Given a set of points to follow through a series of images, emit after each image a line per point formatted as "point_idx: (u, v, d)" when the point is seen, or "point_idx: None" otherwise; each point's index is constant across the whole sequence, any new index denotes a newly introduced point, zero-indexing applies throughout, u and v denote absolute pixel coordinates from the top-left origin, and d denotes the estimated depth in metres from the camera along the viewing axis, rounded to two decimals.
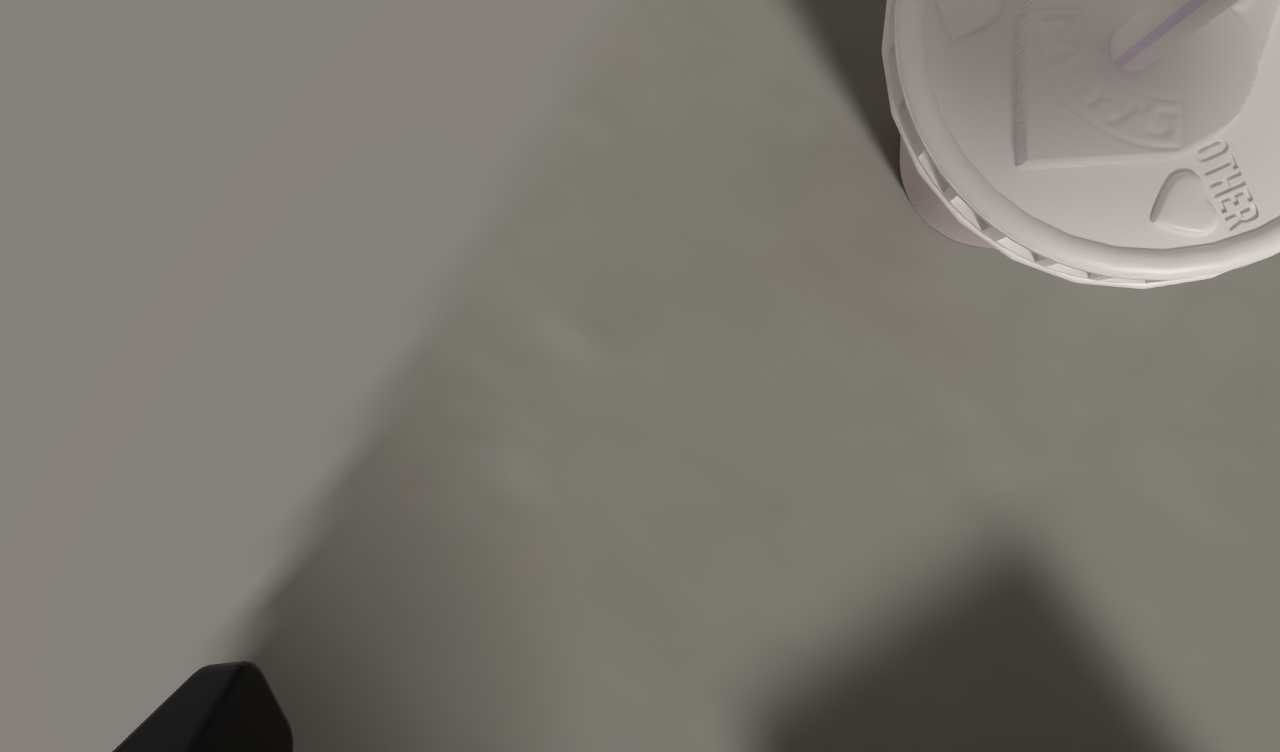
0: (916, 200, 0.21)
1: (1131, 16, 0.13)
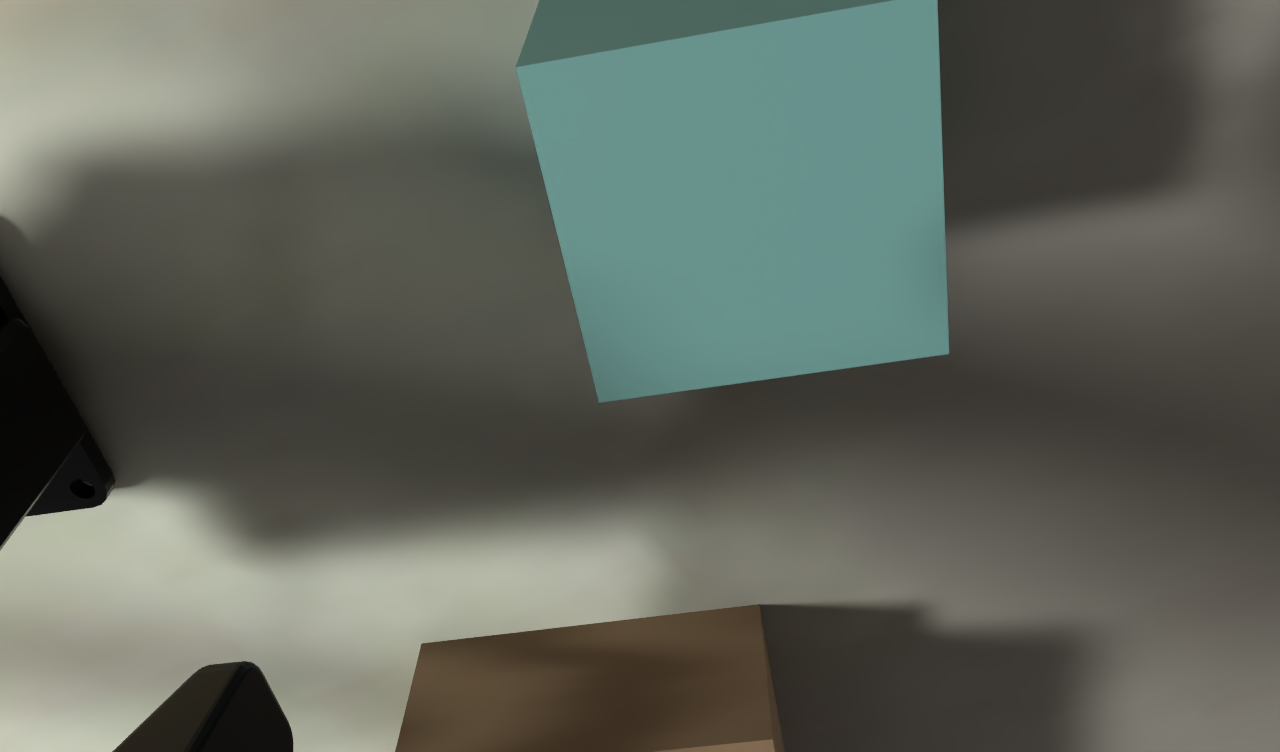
0: None
1: None
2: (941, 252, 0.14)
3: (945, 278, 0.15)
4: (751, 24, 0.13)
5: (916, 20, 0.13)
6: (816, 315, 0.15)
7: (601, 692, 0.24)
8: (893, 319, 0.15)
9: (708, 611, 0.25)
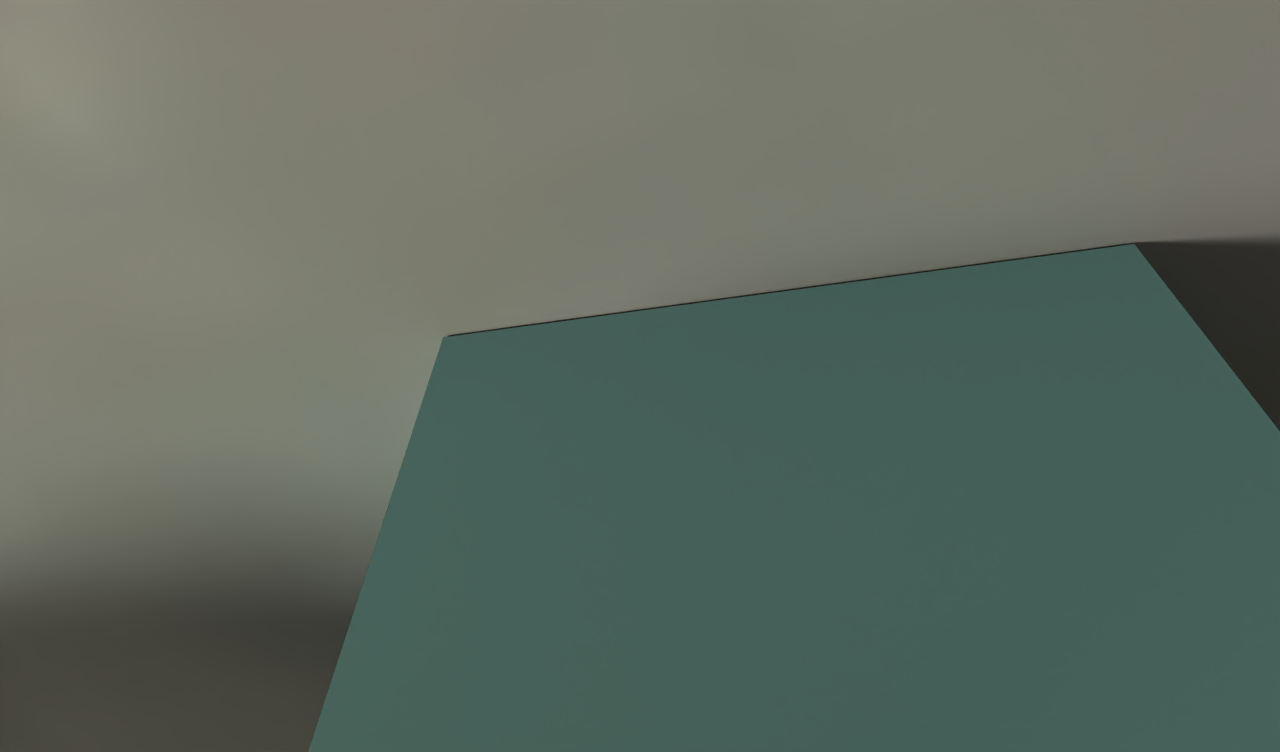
0: None
1: None
2: None
3: None
4: None
5: None
6: None
7: None
8: None
9: None
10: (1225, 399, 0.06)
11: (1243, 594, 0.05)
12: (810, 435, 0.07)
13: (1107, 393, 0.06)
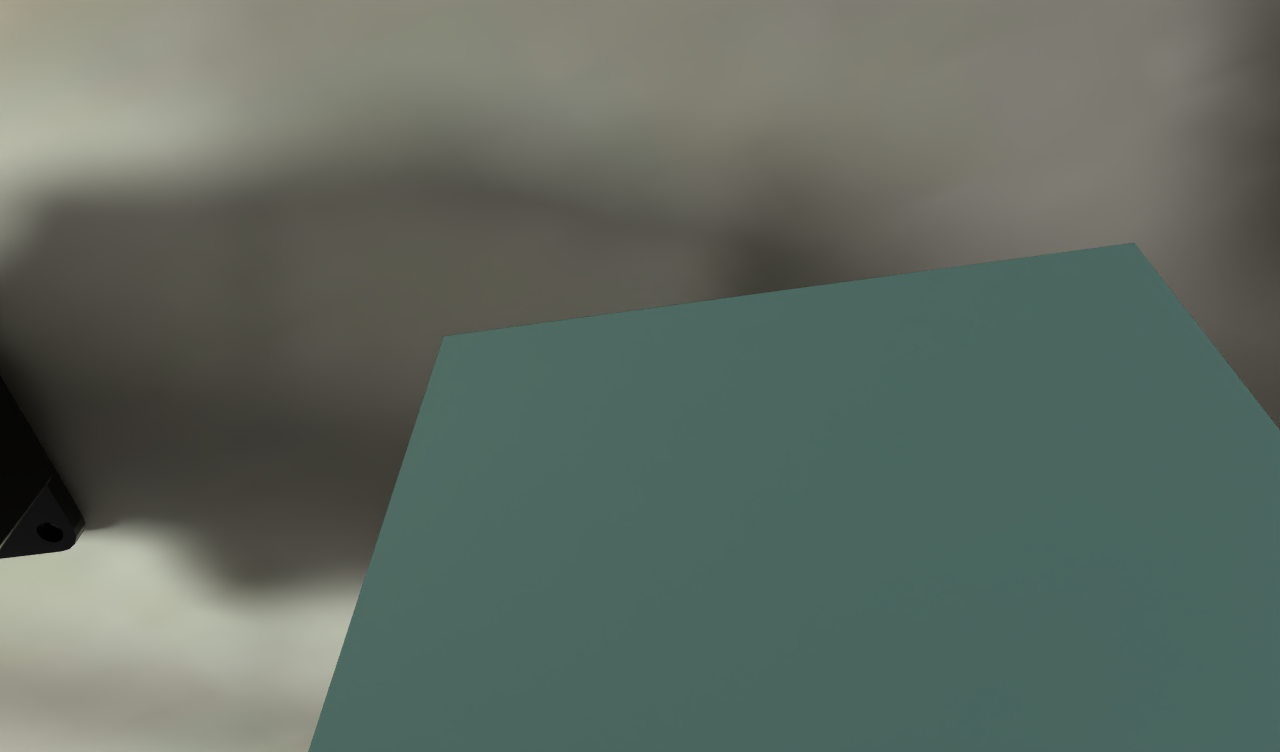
0: None
1: None
2: None
3: None
4: None
5: None
6: None
7: None
8: None
9: None
10: (1224, 397, 0.06)
11: (1242, 591, 0.05)
12: (810, 431, 0.07)
13: (1106, 391, 0.06)
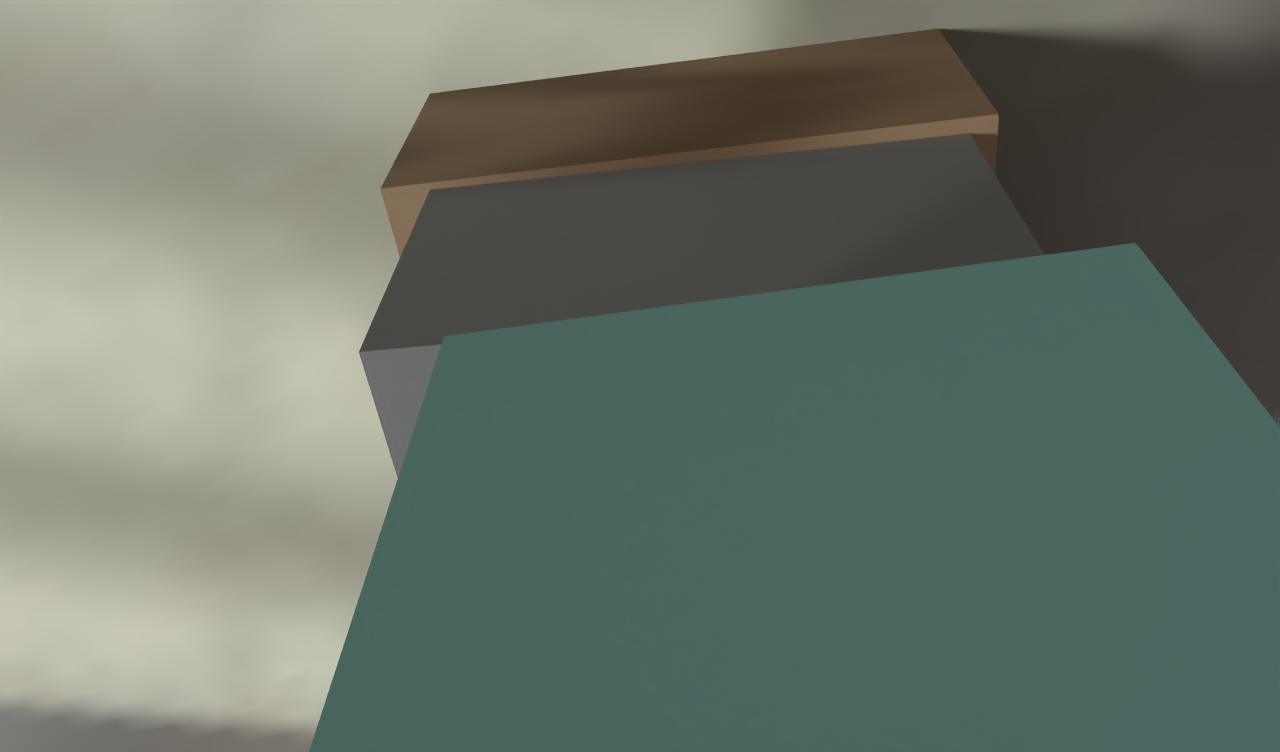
0: None
1: None
2: None
3: None
4: None
5: None
6: None
7: (710, 103, 0.15)
8: None
9: None
10: (1228, 399, 0.06)
11: (1245, 593, 0.05)
12: (812, 433, 0.06)
13: (1109, 392, 0.06)
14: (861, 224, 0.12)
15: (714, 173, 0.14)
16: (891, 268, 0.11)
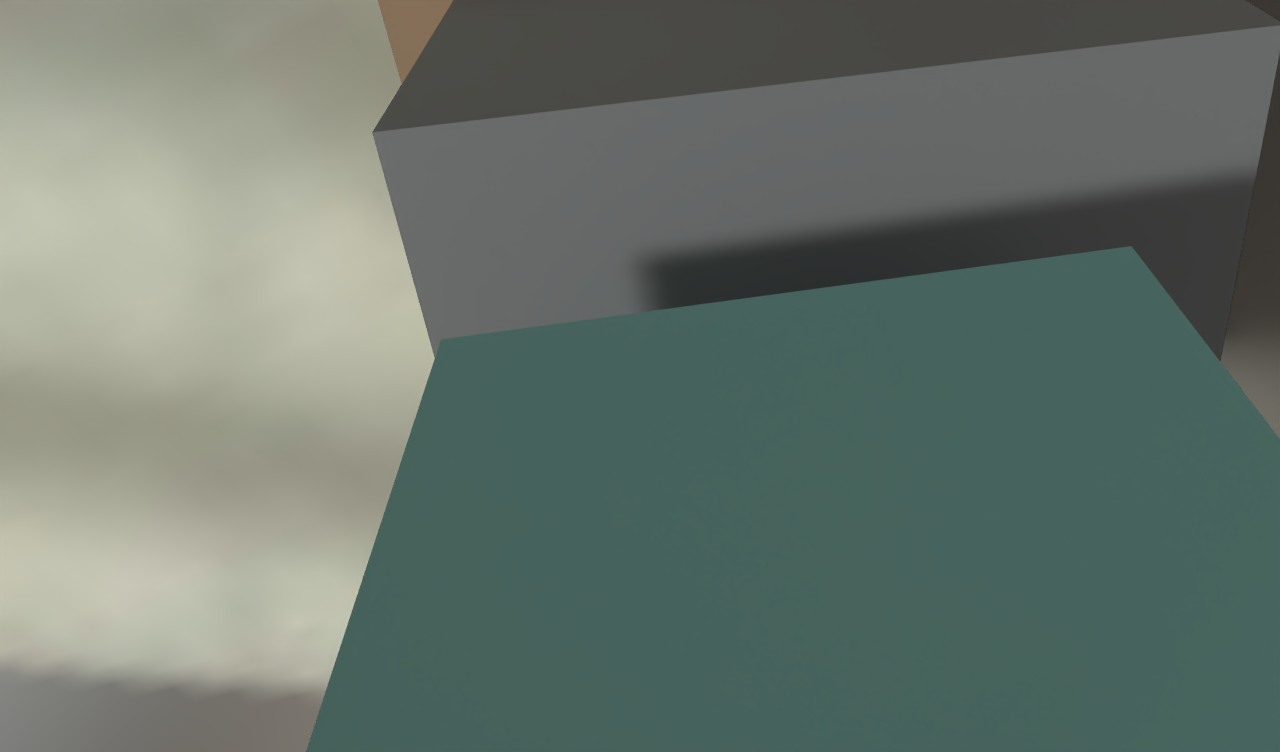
0: None
1: None
2: None
3: None
4: None
5: None
6: None
7: None
8: None
9: None
10: (1220, 402, 0.06)
11: (1238, 597, 0.05)
12: (808, 436, 0.07)
13: (1103, 395, 0.06)
14: None
15: None
16: (1046, 24, 0.09)
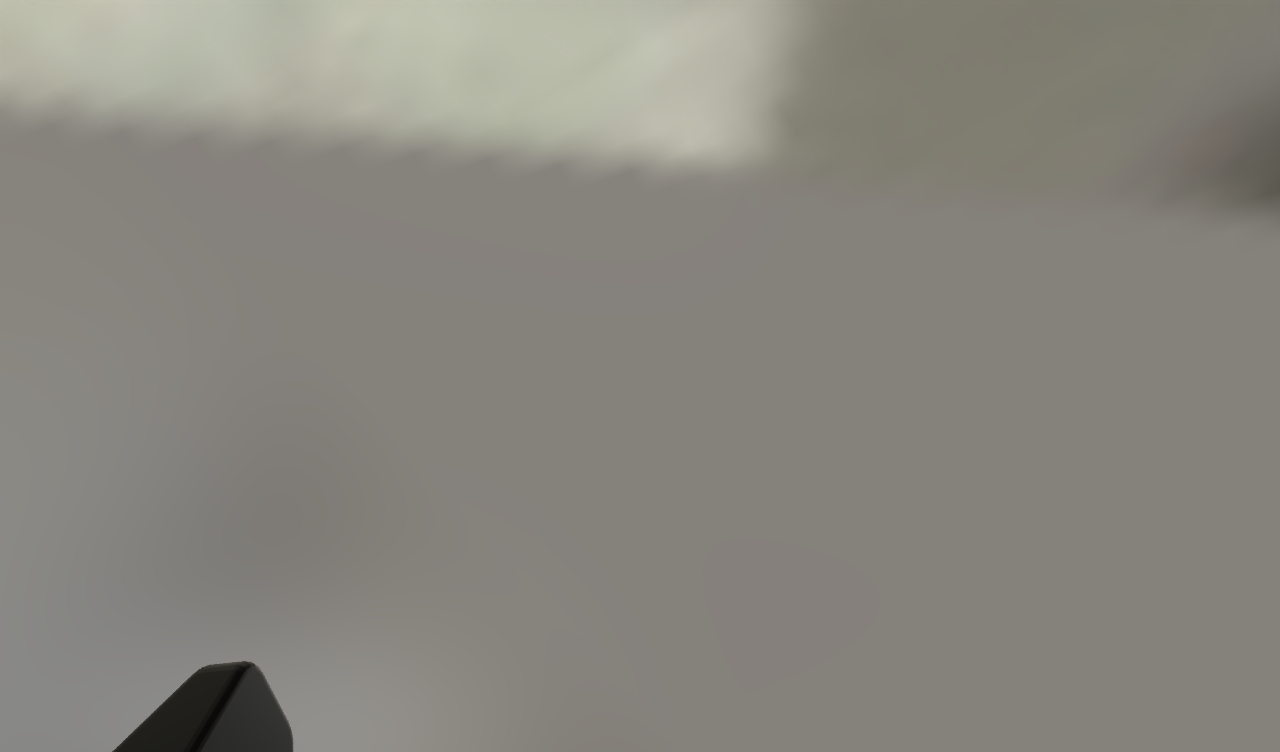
0: None
1: None
2: None
3: None
4: None
5: None
6: None
7: None
8: None
9: None
10: None
11: None
12: None
13: None
14: None
15: None
16: None
